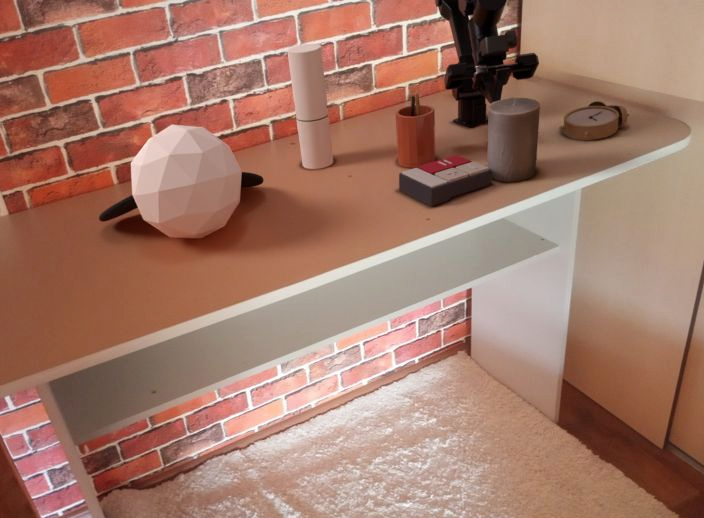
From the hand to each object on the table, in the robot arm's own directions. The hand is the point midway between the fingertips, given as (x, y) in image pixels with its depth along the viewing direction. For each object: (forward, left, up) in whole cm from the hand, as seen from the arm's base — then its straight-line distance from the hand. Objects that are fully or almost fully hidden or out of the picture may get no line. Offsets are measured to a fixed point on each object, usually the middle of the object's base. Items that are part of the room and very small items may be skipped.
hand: (497, 108), depth 147 cm
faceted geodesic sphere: (-16, -65, -10) cm, 67 cm away
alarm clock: (+5, +24, -10) cm, 27 cm away
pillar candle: (+10, -5, -10) cm, 15 cm away
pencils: (-10, -14, -9) cm, 19 cm away
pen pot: (-10, -14, -10) cm, 20 cm away
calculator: (+6, -18, -10) cm, 22 cm away
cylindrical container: (-26, -30, -10) cm, 41 cm away
